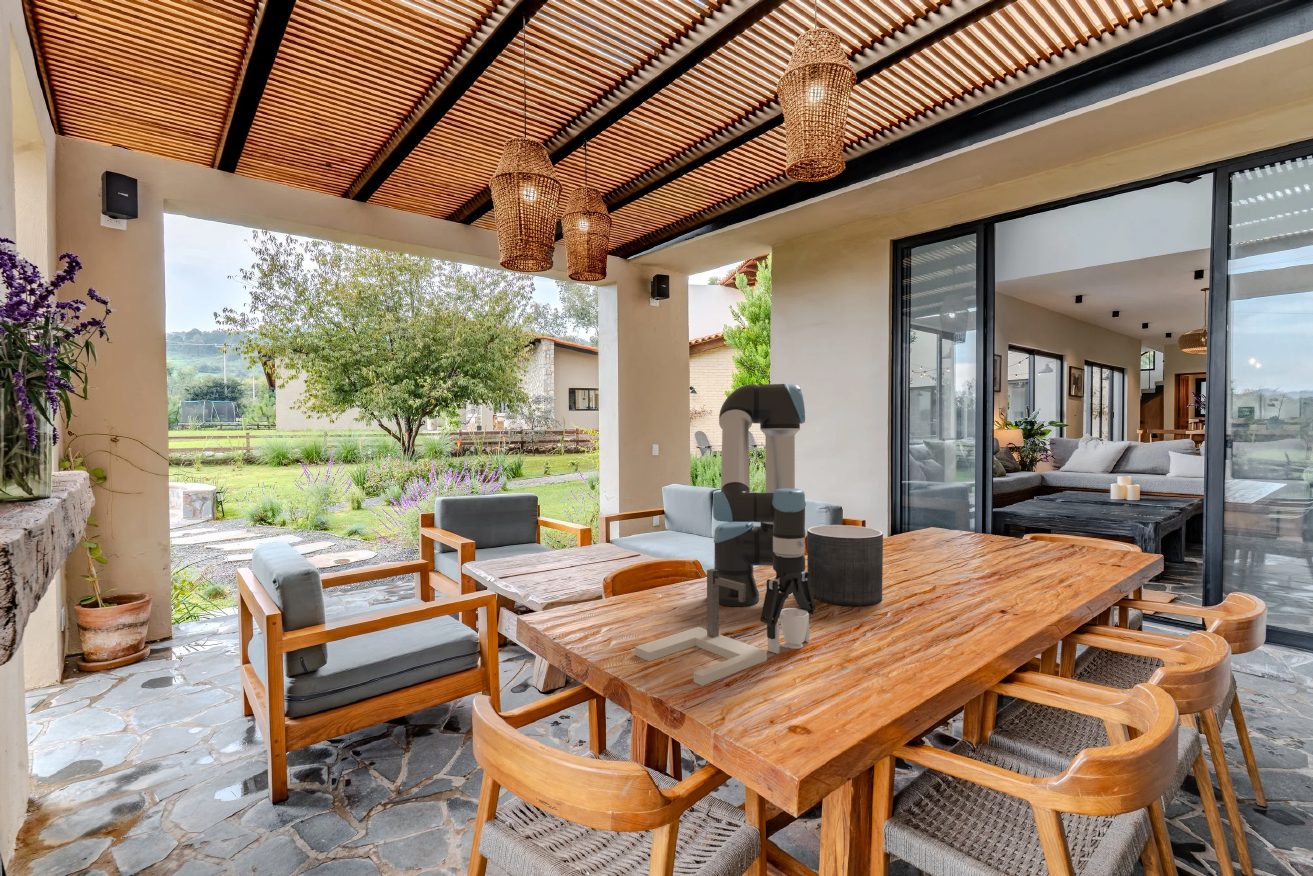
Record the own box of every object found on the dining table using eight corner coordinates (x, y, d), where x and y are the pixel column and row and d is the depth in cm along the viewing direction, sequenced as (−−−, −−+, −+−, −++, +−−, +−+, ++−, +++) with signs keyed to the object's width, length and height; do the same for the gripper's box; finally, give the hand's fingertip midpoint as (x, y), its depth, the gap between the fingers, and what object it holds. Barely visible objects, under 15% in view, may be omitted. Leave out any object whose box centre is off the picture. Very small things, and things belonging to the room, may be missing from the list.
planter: (881, 589, 196) (882, 526, 195) (883, 610, 175) (883, 539, 174) (810, 584, 203) (810, 523, 202) (803, 603, 182) (803, 535, 181)
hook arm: (707, 635, 149) (706, 570, 148) (712, 634, 150) (712, 568, 150) (741, 648, 140) (741, 578, 140) (747, 646, 142) (747, 577, 141)
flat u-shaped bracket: (635, 655, 142) (635, 646, 142) (698, 634, 155) (698, 626, 155) (702, 686, 125) (702, 676, 125) (767, 660, 139) (767, 651, 139)
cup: (815, 648, 146) (815, 614, 146) (780, 655, 142) (780, 620, 141) (796, 638, 152) (796, 606, 152) (762, 645, 148) (762, 611, 148)
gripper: (769, 564, 136) (770, 662, 136) (830, 549, 151) (830, 638, 152) (744, 558, 142) (744, 653, 142) (805, 545, 157) (805, 630, 157)
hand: (788, 645), depth 147 cm, fingers open, 11 cm apart
